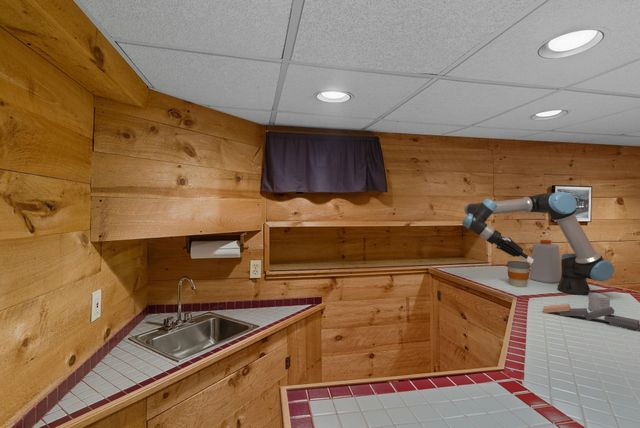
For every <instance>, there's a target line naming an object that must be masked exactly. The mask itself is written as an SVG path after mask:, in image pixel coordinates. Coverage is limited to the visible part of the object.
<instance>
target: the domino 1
mask: <svg viewBox="0 0 640 428" xmlns="http://www.w3.org/2000/svg"><path fill="white" fill-rule="evenodd" d="M558 313H559V316H561V317H567V316H569V317H570V316H571V317H573V316H575V317H576V316H577V317H578V316H580V317H582V316H583V317H585V316H588V313H589V311H588V309H587V307H585V308H584V307H583V308H580V307H579V308H575V307H574V308H570V311H561V312H558Z"/></svg>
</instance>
